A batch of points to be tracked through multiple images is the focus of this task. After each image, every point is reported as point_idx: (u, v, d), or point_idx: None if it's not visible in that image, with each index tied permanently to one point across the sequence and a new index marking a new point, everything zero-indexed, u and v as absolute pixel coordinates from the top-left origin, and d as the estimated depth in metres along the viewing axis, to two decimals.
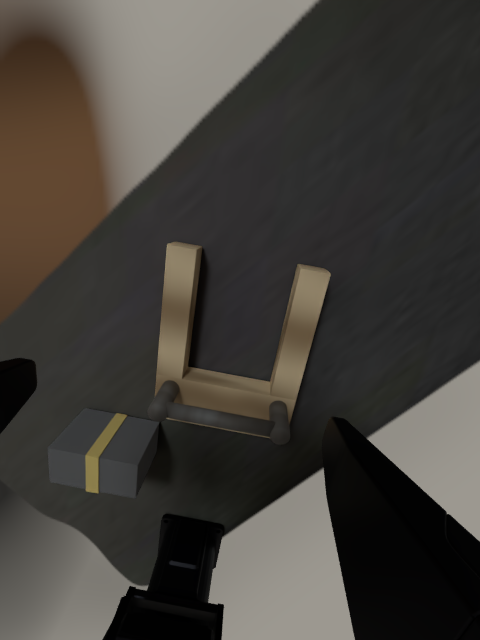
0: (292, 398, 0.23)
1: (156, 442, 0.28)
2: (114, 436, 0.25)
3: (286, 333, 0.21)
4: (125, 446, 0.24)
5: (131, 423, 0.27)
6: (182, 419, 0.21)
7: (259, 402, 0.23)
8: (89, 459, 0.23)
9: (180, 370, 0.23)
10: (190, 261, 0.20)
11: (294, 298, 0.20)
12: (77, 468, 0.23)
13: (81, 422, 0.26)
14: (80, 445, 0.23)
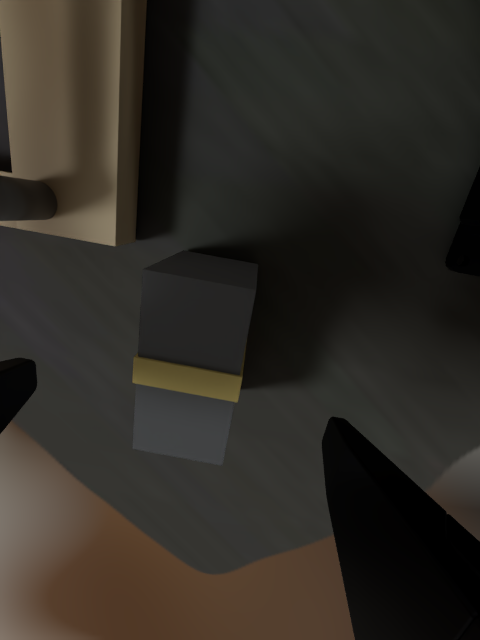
0: None
1: (227, 259, 0.13)
2: None
3: None
4: None
5: None
6: None
7: None
8: (142, 376, 0.10)
9: None
10: None
11: None
12: (177, 406, 0.11)
13: None
14: None
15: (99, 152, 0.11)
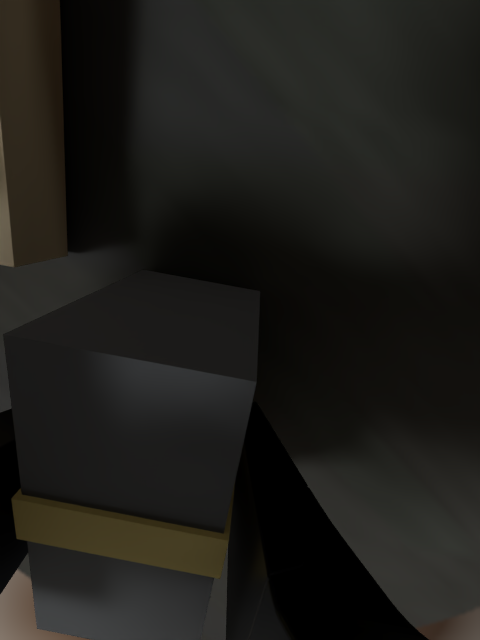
0: None
1: (210, 285, 0.08)
2: None
3: None
4: None
5: None
6: None
7: None
8: (33, 530, 0.05)
9: None
10: None
11: None
12: (108, 573, 0.06)
13: None
14: None
15: None
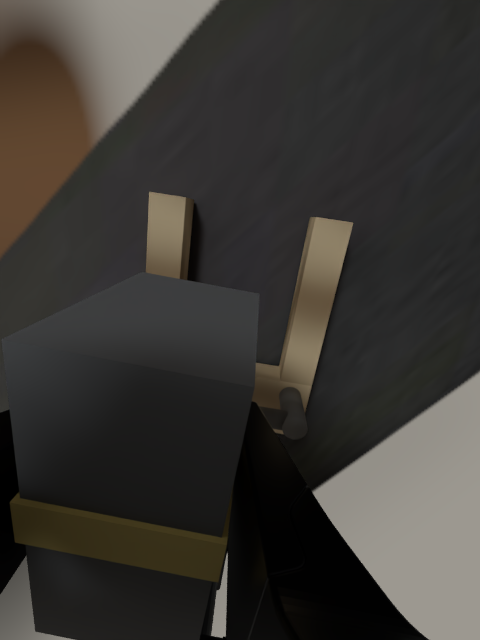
0: (307, 383, 0.19)
1: (209, 287, 0.08)
2: None
3: (298, 301, 0.17)
4: None
5: None
6: None
7: (267, 389, 0.19)
8: (31, 534, 0.05)
9: None
10: (178, 212, 0.16)
11: (308, 256, 0.17)
12: (106, 577, 0.06)
13: None
14: None
15: None
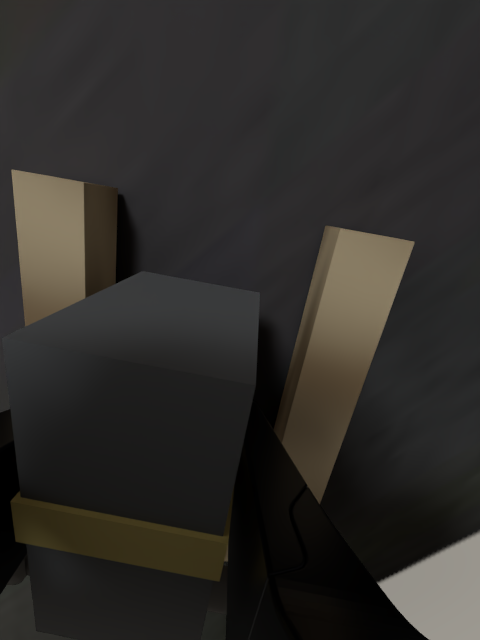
0: None
1: (210, 286, 0.08)
2: None
3: (301, 380, 0.10)
4: None
5: None
6: None
7: None
8: (32, 533, 0.05)
9: None
10: (72, 212, 0.08)
11: (321, 302, 0.09)
12: (107, 576, 0.06)
13: None
14: None
15: None
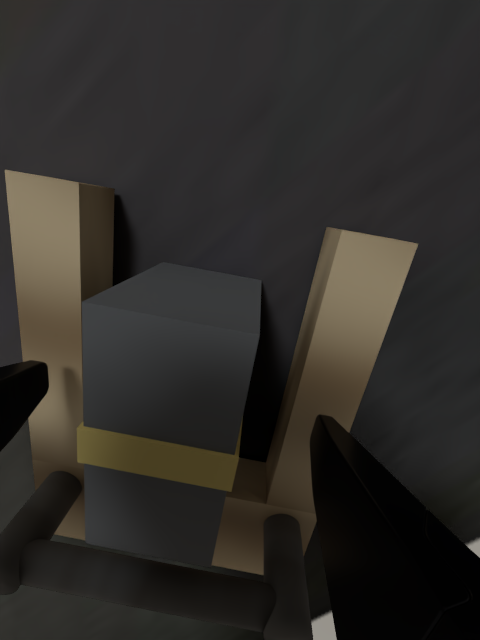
0: (311, 511, 0.11)
1: (220, 274, 0.10)
2: None
3: (301, 384, 0.09)
4: None
5: None
6: (57, 591, 0.09)
7: (244, 515, 0.11)
8: (91, 454, 0.07)
9: None
10: (66, 214, 0.08)
11: (322, 305, 0.08)
12: (145, 492, 0.07)
13: None
14: None
15: None
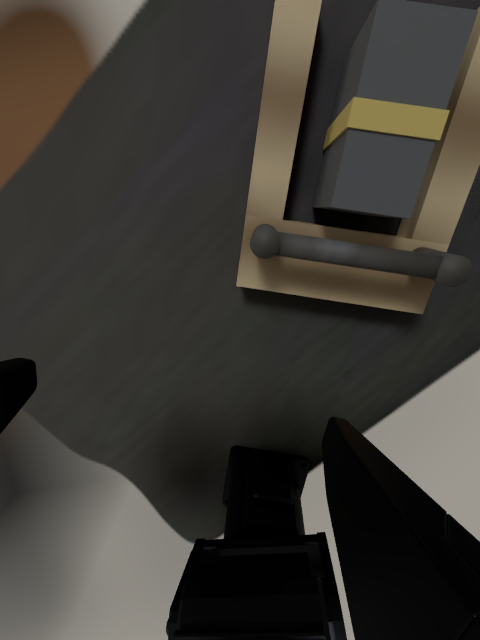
0: (444, 241, 0.16)
1: None
2: (340, 112, 0.14)
3: (451, 125, 0.14)
4: (354, 71, 0.13)
5: (336, 108, 0.15)
6: (303, 252, 0.14)
7: None
8: (357, 118, 0.12)
9: (282, 205, 0.16)
10: None
11: (473, 56, 0.13)
12: (381, 152, 0.12)
13: (321, 191, 0.16)
14: (338, 157, 0.13)
15: (292, 283, 0.17)
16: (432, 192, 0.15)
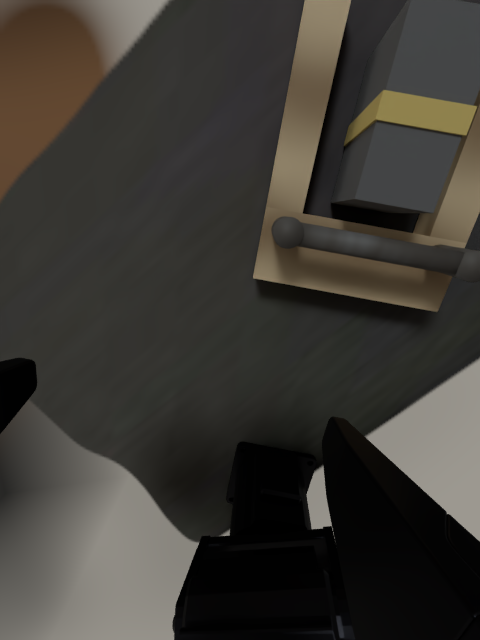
0: (461, 240, 0.16)
1: None
2: (366, 107, 0.14)
3: (473, 124, 0.14)
4: (382, 66, 0.13)
5: (359, 104, 0.15)
6: (325, 243, 0.14)
7: None
8: (386, 111, 0.12)
9: (303, 199, 0.16)
10: None
11: None
12: (408, 145, 0.12)
13: (342, 186, 0.16)
14: (363, 150, 0.13)
15: (309, 277, 0.17)
16: (452, 190, 0.15)
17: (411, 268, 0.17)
